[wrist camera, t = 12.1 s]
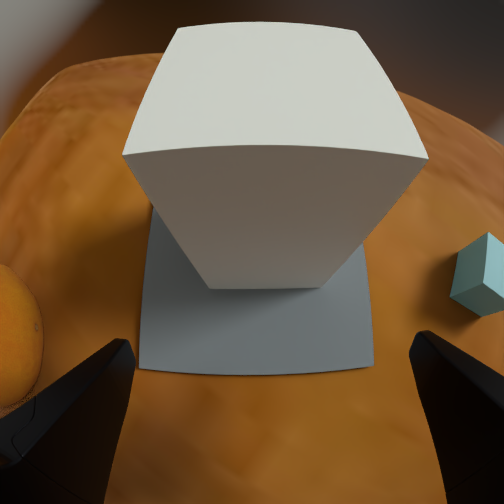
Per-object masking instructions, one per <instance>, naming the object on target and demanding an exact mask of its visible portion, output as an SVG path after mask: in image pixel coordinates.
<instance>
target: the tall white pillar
mask: <svg viewBox="0 0 504 504" xmlns="http://www.w3.org/2000/svg"><path fill="white" fill-rule="evenodd" d="M122 156H123V158H124V159H125V161H126V163H127V164H128V166H129V168H130V169H131V171H132V173H133V174H134V176H135V177H136V179H137V181H138V182H139V184H140V186H141V187H142V189H143V190H144V192H145V194H146V195H147V197H148V198H149V200H150V201H151V203H152V205H153V206H154V208H155V209H156V211H157V212H158V214H159V215H160V217H161V219H162V220H163V222H164V223H165V225H166V226H167V228H168V229H169V231H170V232H171V234H172V235H173V237H174V238H175V240H176V241H177V243H178V244H179V246H180V247H181V249H182V250H183V251H184V253H185V254H186V256H187V257H188V259H189V260H190V262H191V263H192V265H193V266H194V267H195V269H196V270H197V272H198V273H199V275H200V276H201V277H202V279H203V280H204V282H205V283H206V284H207V286H208V287H209V289H286V288H321V287H322V286H323V285H324V284H325V283H326V282H327V281H328V280H329V279H330V278H331V277H332V276H333V274H334V273H335V272H336V271H337V270H338V269H339V268H340V267H341V266H342V265H343V264H344V262H345V261H346V260H347V259H348V258H349V257H350V256H351V255H352V254H353V252H354V251H355V250H356V249H357V248H358V247H359V246H360V244H361V243H362V242H363V241H364V240H365V239H366V238H367V236H368V235H369V234H370V233H371V232H372V231H373V229H374V228H375V227H376V226H377V225H378V223H379V222H380V221H381V220H382V219H383V217H384V216H385V215H386V214H387V213H388V211H389V210H390V209H391V208H392V207H393V205H394V204H395V203H396V202H397V200H398V199H399V198H400V197H401V195H402V194H403V193H404V191H405V190H406V189H407V188H408V186H409V185H410V184H411V182H412V181H413V180H414V179H415V177H416V176H417V175H418V173H419V172H420V171H421V169H422V168H423V167H424V165H425V164H426V163H427V161H428V160H429V158H428V155H427V153H426V151H425V148H424V146H423V144H422V141H421V139H420V137H419V135H418V133H417V131H416V128H415V126H414V124H413V122H412V120H411V118H410V116H409V114H408V112H407V110H406V108H405V107H404V105H403V103H402V101H401V99H400V97H399V96H398V94H397V92H396V90H395V89H394V87H393V85H392V84H391V82H390V80H389V78H388V77H387V75H386V74H385V72H384V71H383V69H382V67H381V66H380V64H379V63H378V61H377V60H376V58H375V57H374V55H373V54H372V52H371V51H370V49H369V48H368V47H367V45H366V44H365V42H364V41H363V40H362V38H361V37H360V36H359V34H358V33H357V32H356V31H351V30H346V29H340V28H333V27H326V26H318V25H309V24H298V23H281V22H237V23H221V24H209V25H199V26H191V27H185V28H178V30H177V32H176V33H175V35H174V37H173V38H172V40H171V42H170V44H169V46H168V48H167V50H166V52H165V53H164V55H163V57H162V59H161V61H160V63H159V65H158V67H157V69H156V71H155V73H154V76H153V78H152V80H151V82H150V84H149V86H148V89H147V91H146V93H145V96H144V98H143V100H142V103H141V105H140V107H139V110H138V112H137V115H136V117H135V120H134V123H133V125H132V128H131V131H130V133H129V136H128V139H127V142H126V145H125V148H124V151H123V154H122Z"/></svg>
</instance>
